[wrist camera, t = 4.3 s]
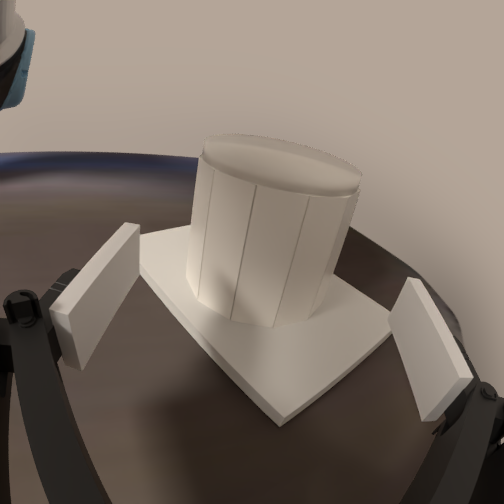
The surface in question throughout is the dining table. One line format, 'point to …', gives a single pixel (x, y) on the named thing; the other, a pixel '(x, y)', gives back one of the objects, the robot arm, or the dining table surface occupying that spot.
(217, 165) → the white container
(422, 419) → the robot arm
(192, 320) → the white mat
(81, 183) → the dining table surface
